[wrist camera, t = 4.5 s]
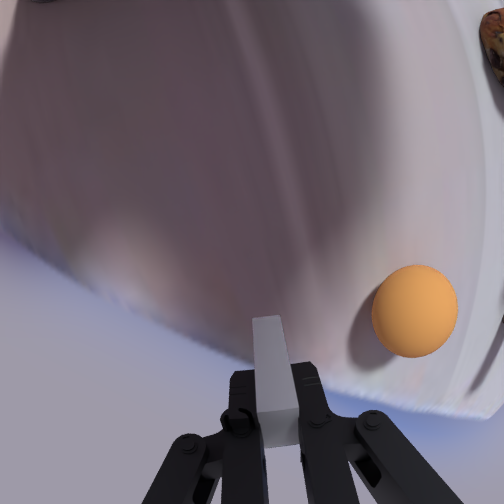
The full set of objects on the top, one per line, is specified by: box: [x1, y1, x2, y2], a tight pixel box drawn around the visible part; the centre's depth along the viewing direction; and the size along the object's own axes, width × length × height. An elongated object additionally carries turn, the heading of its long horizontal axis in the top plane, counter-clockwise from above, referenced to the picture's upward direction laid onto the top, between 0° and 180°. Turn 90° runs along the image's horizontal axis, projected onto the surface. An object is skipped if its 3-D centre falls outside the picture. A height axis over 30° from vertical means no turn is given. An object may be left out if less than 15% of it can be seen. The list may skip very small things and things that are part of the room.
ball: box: [372, 265, 458, 358], centre depth 14 cm, size 6×6×6 cm
